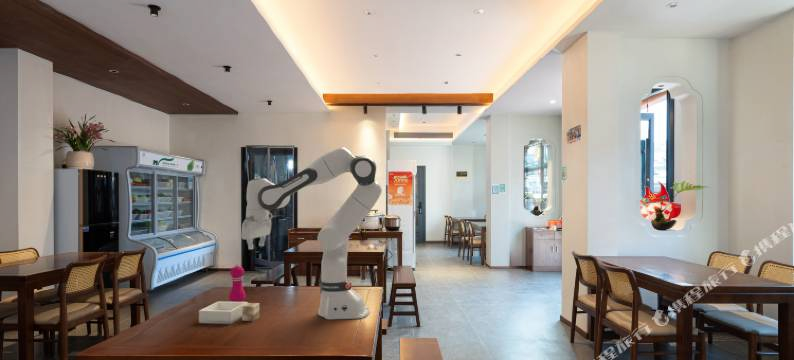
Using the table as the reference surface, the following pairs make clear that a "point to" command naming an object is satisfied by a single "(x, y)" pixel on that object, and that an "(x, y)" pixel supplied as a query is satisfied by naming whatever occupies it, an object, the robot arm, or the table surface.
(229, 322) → the serving bin
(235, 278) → the pepper mill
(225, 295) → the table surface
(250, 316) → the birch block
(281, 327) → the table surface
